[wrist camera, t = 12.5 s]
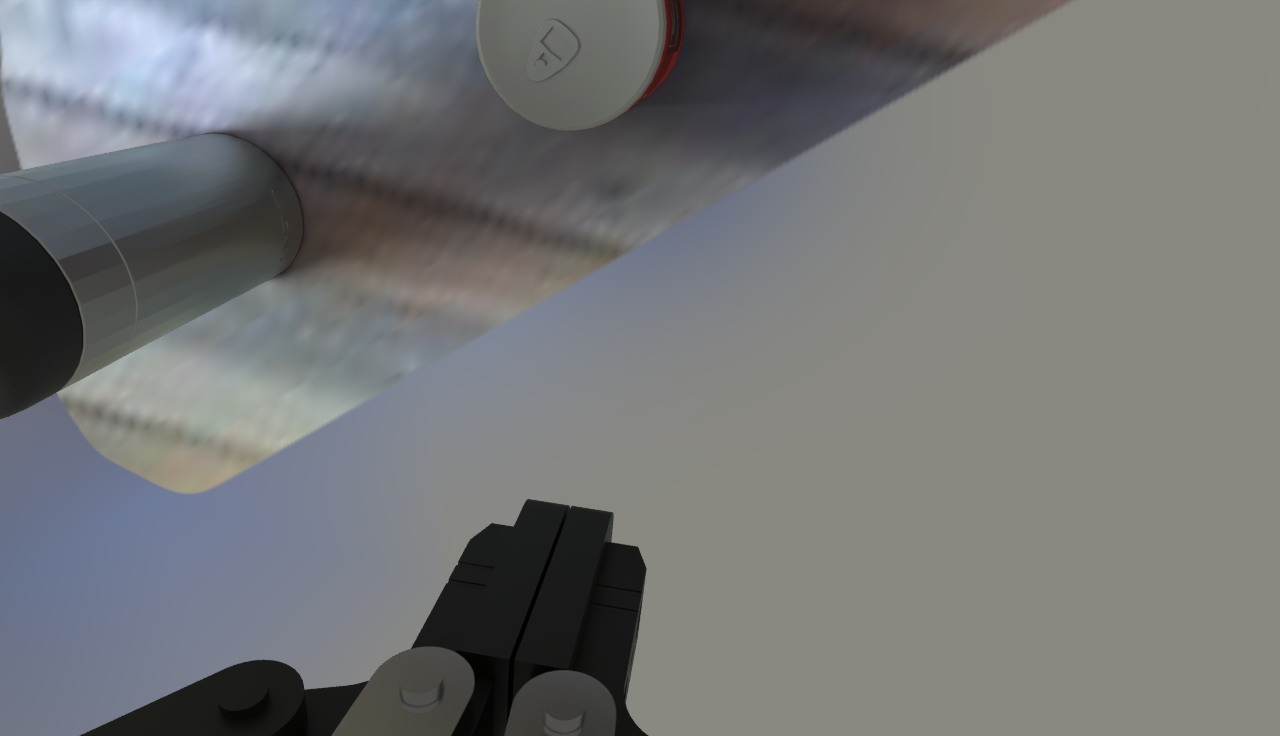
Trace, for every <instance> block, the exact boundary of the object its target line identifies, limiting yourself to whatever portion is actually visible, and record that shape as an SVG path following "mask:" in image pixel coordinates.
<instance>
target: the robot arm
mask: <svg viewBox="0 0 1280 736" xmlns="http://www.w3.org/2000/svg"><path fill="white" fill-rule="evenodd" d="M302 235H303V219H302V214H301V208H300V204H299V201H298V199H297V196H296V193H295V191H294V188H293V187H292V185H291V183H290V182H289V180H288V178H287V177H286V175H285V173H284V172H283V171H282V170H281V169H280V168H279V166H278V165H277V164H276V163H275V162H274V161H273V160H272V159H271V158H270V157H269V156H268V155H266V154H265V153H264V152H263V151H262V150H260V149H259V148H257V147H256V146H254V145H252V144H250V143H248V142H247V141H245V140H242V139H239V138H236V137H233V136H231V135H225V134H216V133H211V134H202V135H196V136H191V137H186V138H181V139H176V140H171V141H166V142H160V143H155V144H149V145H144V146H140V147H135V148H130V149H125V150H120V151H115V152H110V153H105V154H100V155H95V156H90V157H85V158H80V159H75V160H70V161H65V162H60V163H55V164H50V165H45V166H40V167H35V168H30V169H25V170H20V171H15V172H11V173H5V174H1V175H0V419H2V418H6V417H9V416H11V415H13V414H16V413H18V412H20V411H22V410H25V409H27V408H29V407H30V406H32V405H34V404H36V403H38V402H40V401H42V400H44V399H45V398H47V397H49V396H51V395H53V394H55V393H56V392H58V391H60V390H62V389H64V388H66V387H68V386H70V385H72V384H73V383H75V382H77V381H79V380H81V379H83V378H85V377H87V376H89V375H90V374H92V373H94V372H96V371H98V370H100V369H102V368H104V367H105V366H107V365H109V364H111V363H112V362H114V361H116V360H118V359H120V358H122V357H124V356H126V355H127V354H129V353H131V352H133V351H135V350H137V349H139V348H141V347H143V346H144V345H146V344H148V343H150V342H152V341H154V340H156V339H158V338H160V337H161V336H163V335H165V334H167V333H169V332H171V331H173V330H175V329H177V328H178V327H180V326H182V325H184V324H186V323H188V322H190V321H192V320H194V319H195V318H197V317H199V316H201V315H203V314H205V313H207V312H209V311H211V310H212V309H214V308H216V307H218V306H220V305H222V304H224V303H226V302H228V301H229V300H231V299H233V298H235V297H237V296H239V295H241V294H243V293H245V292H247V291H249V290H251V289H252V288H254V287H256V286H258V285H260V284H262V283H264V282H266V281H268V280H269V279H271V278H273V277H275V276H276V275H278V274H280V273H281V272H283V271H284V270H285V269H286V268H287V267H288V266H289V265H290V264H291V263H292V262H293V260H294V258H295V256H296V254H297V252H298V250H299V248H300V244H301V240H302ZM613 517H614V516H613V512H607V511H601V510H595V509H588V508H582V507H576V506H572V507H571V508H570V506H569V505H562V504H556V503H549V502H543V501H537V500H531V499H528V500H526V502H525V504H524V506H523V508H522V510H521V512H520V514H519V517H518V519H517V521H516V523H515V525H514V527H512V526H506V525H499V524H494V523H492V524H490V525H489V526H488V527H486V528H485V529H484V530H482V531H481V532H480V533H478V534H477V535H476V536H474V537H473V538H472V539H471V540H470V541H469V543H468V544H467V547H466V548H465V550H464V552H463V554H462V556H461V557H460V559H459V561H458V566H457V565H456V567H455V569H454V570H453V572H452V574H451V576H450V578H449V582H448V583H447V584H446V585H445V587H444V589H443V591H442V593H441V594H440V596H439V598H438V600H437V602H436V604H435V606H434V607H433V609H432V611H431V613H430V615H429V617H428V618H427V620H426V622H425V624H424V626H423V628H422V629H421V631H420V633H419V635H418V637H417V639H416V641H415V642H414V644H413V646H412V648H411V649H409V650H406V651H403V652H401V653H399V654H397V655H395V656H393V657H391V658H390V659H388V660H387V661H385V662H384V663H383V664H382V665H381V666H380V667H379V668H378V669H377V670H376V672H375V673H374V674H373V676H372V677H371V678H370V680H369V681H367V682H362V683H359V684H354V685H348V686H339V687H328V688H318V689H308V690H304V685H303V680H302V679H301V676H300V675H299V673H297V671H296V670H295V669H293V668H292V667H290V666H289V665H287V664H284V663H282V662H278V661H273V660H254V661H249V662H244V663H240V664H237V665H233V666H231V667H229V668H226V669H224V670H222V671H219V672H217V673H215V674H213V675H211V676H208V677H206V678H204V679H202V680H200V681H197V682H195V683H193V684H191V685H189V686H187V687H184V688H182V689H180V690H178V691H176V692H174V693H172V694H169V695H167V696H165V697H163V698H161V699H158V700H156V701H154V702H152V703H150V704H148V705H145V706H143V707H141V708H139V709H137V710H135V711H132V712H130V713H128V714H126V715H124V716H121V717H119V718H117V719H115V720H113V721H111V722H108V723H106V724H104V725H102V726H100V727H98V728H96V729H93V730H91V731H89V732H87V733H85V734H82V735H80V736H648V735H646V734H645V733H644V732H643V731H642V730H641V729H640V728H639V727H638V726H637V725H636V724H635V722H634V721H633V719H632V718H631V716H630V714H629V712H628V710H627V708H626V698H627V693H628V687H629V682H630V676H631V671H632V665H633V660H634V654H635V649H636V643H637V638H638V630H639V622H640V615H641V607H642V599H643V592H644V584H645V576H646V566H645V564H644V561H643V559H642V556H641V553H640V551H639V548H638V547H636V546H630V545H624V544H618V543H611V538H612V528H613Z"/></svg>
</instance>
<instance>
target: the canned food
mask: <svg viewBox="0 0 1280 736" xmlns="http://www.w3.org/2000/svg"><path fill="white" fill-rule="evenodd" d="M475 23H476V42H477V47H478V52H479V57H480V60H481V63H482V66H483V68H484V71H485V73H486V76H487V78H488V80H489V81H490V83H491V84H492V86H493V88H494V89H495V91H496V93H497V94H498V95H499V96H500V97H501V98H502V99H503V101H504V102H505V103H506V104H507V105H508V106H509V107H510V108H511V109H512V110H514V111H515V112H516V113H518V114H519V115H520V116H522V117H523V118H525V119H527V120H529V121H531V122H533V123H535V124H537V125H539V126H542V127H546V128H551V129H555V130H568V131H579V130H584V129H590V128H595V127H598V126H600V125H603V124H605V123H608V122H610V121H612V120H614V119H616V118H618V117H619V116H621V115H622V114H624V113H625V112H627V111H628V110H630V109H631V108H632V107H634V106H635V105H636V104H638V103H639V102H640V101H642V100H643V99H644V98H646V97H647V96H648V95H650V94H651V93H652V92H654V91H655V90H656V89H657V88H658V87H659V86H660V85H661V84H662V83H663V82H664V80H665V79H666V77H667V76H668V75H669V73H670V72H671V70H672V69H673V67H674V65H675V62H676V60H677V58H678V56H679V53H680V49H681V45H682V41H683V35H684V13H683V5H682V2H681V0H478V4H477V11H476V18H475Z"/></svg>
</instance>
